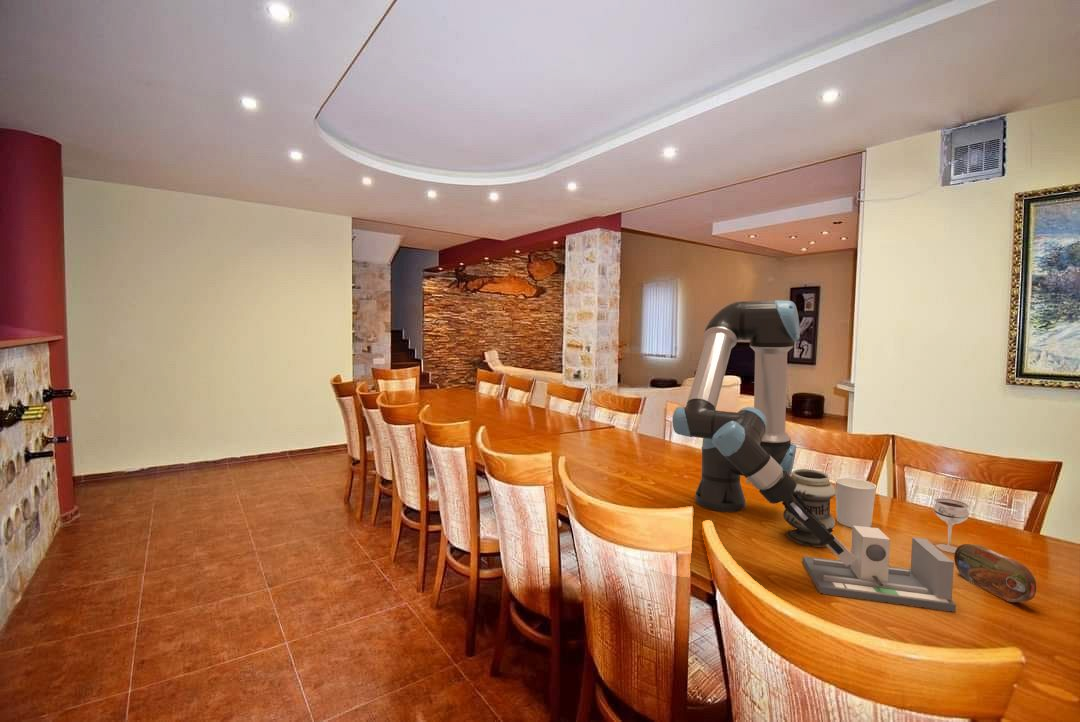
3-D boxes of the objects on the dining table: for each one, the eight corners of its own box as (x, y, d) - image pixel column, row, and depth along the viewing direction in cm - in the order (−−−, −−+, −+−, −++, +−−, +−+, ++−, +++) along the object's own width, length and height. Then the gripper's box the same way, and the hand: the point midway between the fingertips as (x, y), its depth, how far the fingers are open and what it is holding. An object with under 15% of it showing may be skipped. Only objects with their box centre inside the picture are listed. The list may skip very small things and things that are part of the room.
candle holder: (881, 531, 130) (883, 489, 129) (842, 528, 132) (844, 487, 131) (864, 518, 140) (866, 478, 139) (828, 515, 142) (829, 476, 141)
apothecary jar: (785, 544, 122) (787, 477, 121) (780, 526, 133) (782, 464, 132) (838, 552, 118) (842, 482, 117) (829, 533, 129) (831, 469, 128)
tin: (951, 572, 108) (954, 537, 108) (964, 572, 109) (966, 536, 108) (1024, 611, 93) (1027, 570, 93) (1038, 610, 94) (1041, 570, 93)
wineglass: (969, 557, 115) (972, 510, 115) (934, 550, 119) (936, 504, 118) (963, 546, 121) (965, 501, 120) (929, 540, 125) (931, 496, 124)
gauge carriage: (867, 590, 98) (869, 543, 97) (850, 568, 107) (852, 525, 106) (894, 593, 96) (897, 546, 96) (875, 571, 105) (878, 528, 105)
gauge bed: (819, 593, 99) (821, 550, 99) (802, 562, 113) (803, 523, 112) (955, 612, 93) (958, 566, 92) (919, 576, 106) (922, 536, 106)
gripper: (753, 481, 114) (827, 557, 110) (762, 500, 102) (846, 586, 98) (778, 462, 112) (854, 538, 109) (790, 478, 100) (877, 565, 96)
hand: (850, 561), depth 103 cm, fingers closed
